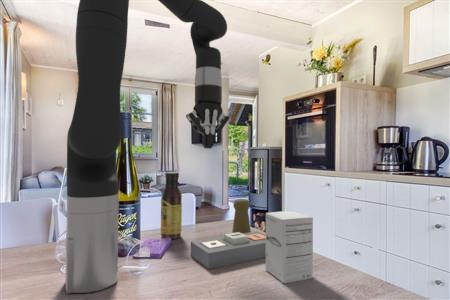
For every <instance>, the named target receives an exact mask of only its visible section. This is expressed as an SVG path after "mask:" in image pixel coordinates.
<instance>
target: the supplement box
mask: <svg viewBox="0 0 450 300" xmlns="http://www.w3.org/2000/svg"><path fill="white" fill-rule="evenodd" d="M313 223H314V217H313V216H309V215H306V214H304V213H300V212H297V211H293V210H285V211H284V210H283V211H274V212H273V211H271V212H265V234H266V257H265V271H267V272H268V273H270V274H271V275H273V277H275V278H277V279H278V280H279V281H280V282H281V283H282V284H287V283H289V284H290V283H294V282H299V281H306V280H310V279H313V278H314V268H313V267H314V265H313V263H314V259H313V257H314V256H313V255H314V249H313V248H314V245H313V244H314V243H313V242H314V236H313V235H314V231H313V230H314V228H313V227H314V224H313Z"/></svg>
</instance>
